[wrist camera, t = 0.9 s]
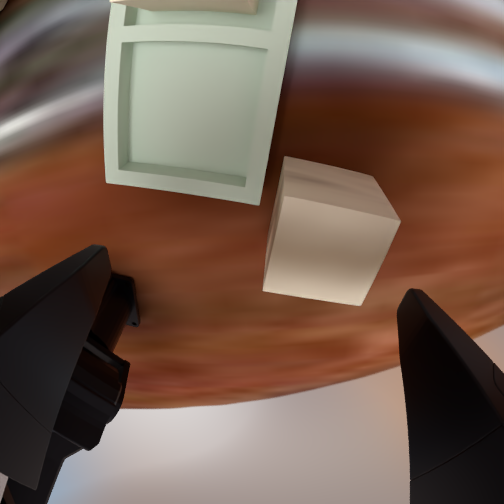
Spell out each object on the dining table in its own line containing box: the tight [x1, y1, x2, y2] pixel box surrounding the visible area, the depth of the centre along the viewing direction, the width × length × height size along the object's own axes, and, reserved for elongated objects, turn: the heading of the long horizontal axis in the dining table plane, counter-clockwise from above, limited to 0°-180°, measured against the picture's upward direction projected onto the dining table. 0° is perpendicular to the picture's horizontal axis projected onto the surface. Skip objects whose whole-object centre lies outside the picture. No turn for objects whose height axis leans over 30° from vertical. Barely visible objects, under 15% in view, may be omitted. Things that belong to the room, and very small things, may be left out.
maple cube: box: [263, 156, 401, 306], centre depth 18 cm, size 6×6×6 cm
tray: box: [104, 0, 297, 205], centre depth 12 cm, size 19×10×6 cm, turn 171°
